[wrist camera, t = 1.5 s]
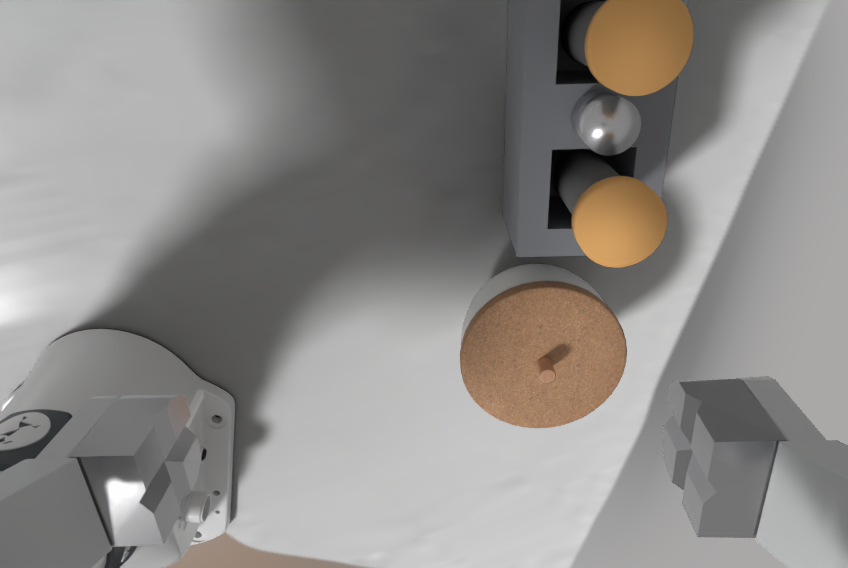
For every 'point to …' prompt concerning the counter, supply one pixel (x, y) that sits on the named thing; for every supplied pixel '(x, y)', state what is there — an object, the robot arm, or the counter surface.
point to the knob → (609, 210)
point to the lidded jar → (540, 347)
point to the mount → (561, 128)
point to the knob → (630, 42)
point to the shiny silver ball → (605, 122)
